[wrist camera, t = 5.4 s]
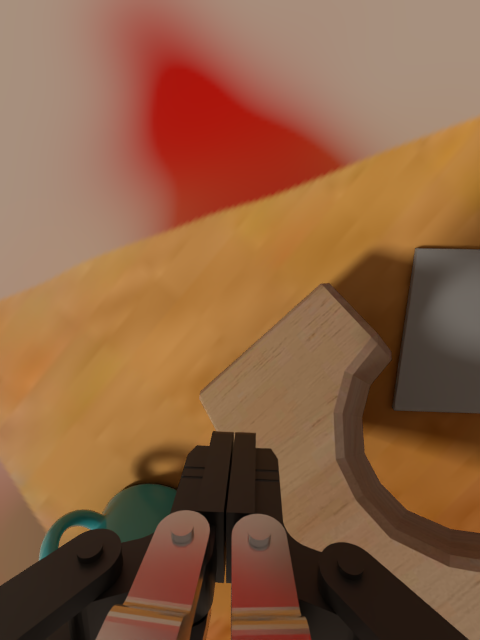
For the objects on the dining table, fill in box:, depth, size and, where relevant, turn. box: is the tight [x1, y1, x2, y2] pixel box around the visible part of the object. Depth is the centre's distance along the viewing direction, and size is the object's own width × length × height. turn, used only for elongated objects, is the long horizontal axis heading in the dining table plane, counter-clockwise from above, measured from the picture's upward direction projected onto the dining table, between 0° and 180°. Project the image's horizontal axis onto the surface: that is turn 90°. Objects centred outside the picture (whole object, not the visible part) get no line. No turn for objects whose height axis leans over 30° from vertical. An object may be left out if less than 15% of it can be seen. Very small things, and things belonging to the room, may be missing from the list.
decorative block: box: [199, 283, 480, 640], centre depth 19 cm, size 11×6×20 cm
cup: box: [39, 484, 177, 561], centre depth 25 cm, size 9×12×11 cm
